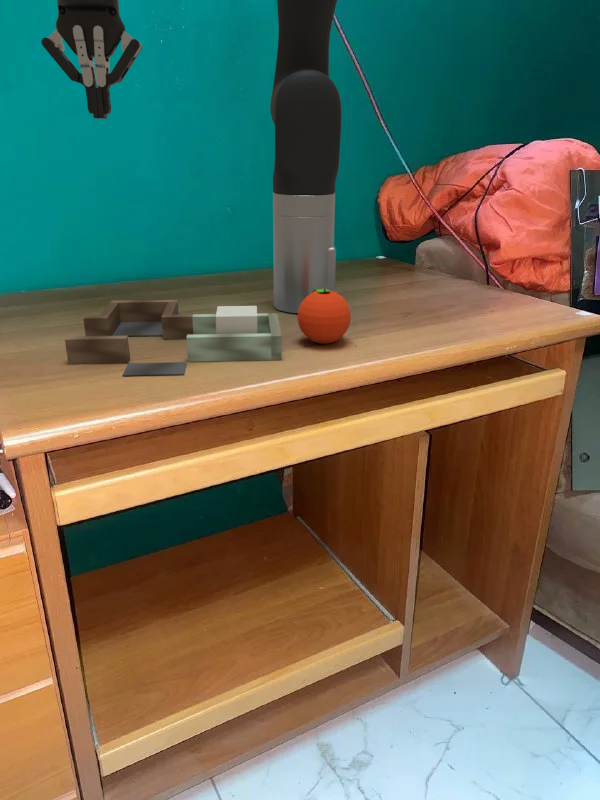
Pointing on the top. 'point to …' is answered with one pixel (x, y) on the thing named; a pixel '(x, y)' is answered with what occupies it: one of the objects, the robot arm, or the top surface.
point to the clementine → (324, 316)
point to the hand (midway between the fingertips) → (100, 118)
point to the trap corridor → (168, 337)
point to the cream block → (236, 320)
